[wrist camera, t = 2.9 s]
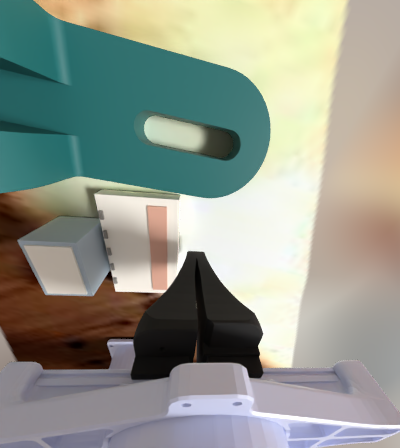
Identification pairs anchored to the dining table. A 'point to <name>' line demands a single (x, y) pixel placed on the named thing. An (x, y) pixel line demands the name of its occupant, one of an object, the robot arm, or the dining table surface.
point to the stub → (68, 255)
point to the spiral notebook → (140, 238)
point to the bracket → (116, 109)
